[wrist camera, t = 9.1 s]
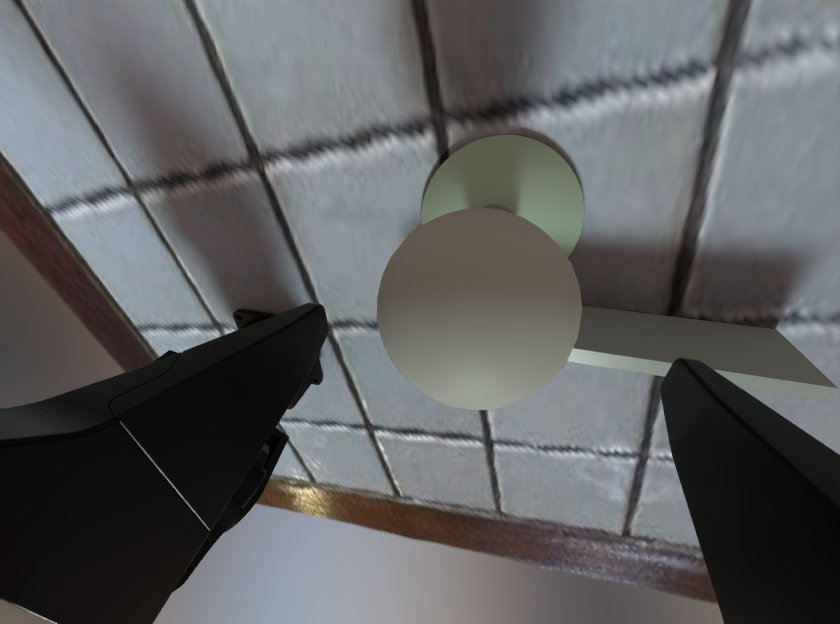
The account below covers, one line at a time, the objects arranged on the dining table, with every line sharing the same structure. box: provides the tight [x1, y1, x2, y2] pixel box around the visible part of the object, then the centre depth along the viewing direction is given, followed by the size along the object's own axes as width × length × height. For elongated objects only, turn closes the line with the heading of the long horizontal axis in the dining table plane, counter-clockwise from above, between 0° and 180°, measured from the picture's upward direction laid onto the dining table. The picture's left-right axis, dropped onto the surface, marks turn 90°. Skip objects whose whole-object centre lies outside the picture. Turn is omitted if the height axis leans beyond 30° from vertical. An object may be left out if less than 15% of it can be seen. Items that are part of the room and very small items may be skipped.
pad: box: [421, 135, 584, 257], centre depth 17 cm, size 8×8×1 cm
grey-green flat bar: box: [567, 306, 838, 402], centre depth 17 cm, size 18×1×4 cm, turn 90°
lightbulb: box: [377, 204, 582, 410], centre depth 12 cm, size 6×6×11 cm
